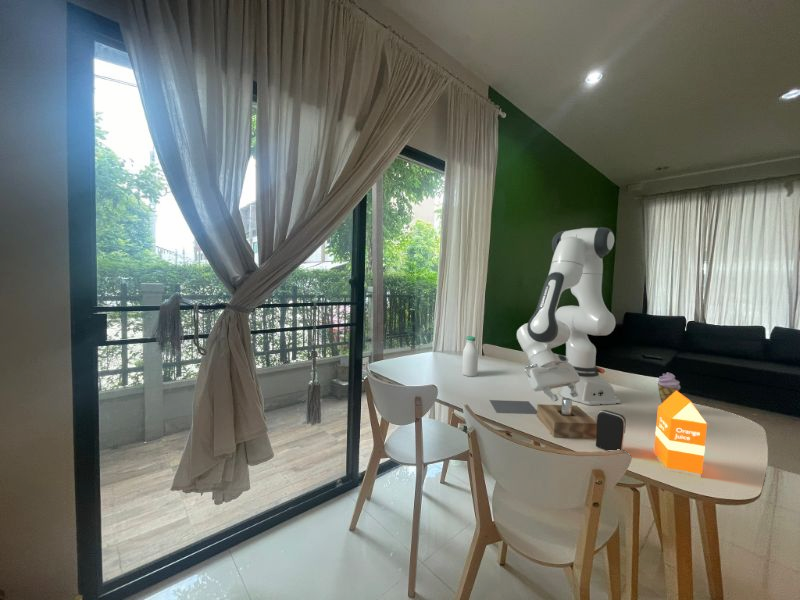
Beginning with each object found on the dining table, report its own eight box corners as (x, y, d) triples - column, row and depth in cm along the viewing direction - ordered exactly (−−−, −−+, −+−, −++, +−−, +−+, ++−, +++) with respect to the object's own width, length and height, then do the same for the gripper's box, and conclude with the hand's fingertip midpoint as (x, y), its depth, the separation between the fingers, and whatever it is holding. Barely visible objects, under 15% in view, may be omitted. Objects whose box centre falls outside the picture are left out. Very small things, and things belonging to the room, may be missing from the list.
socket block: (575, 418, 116) (576, 405, 115) (597, 438, 102) (598, 423, 101) (536, 417, 116) (537, 404, 116) (553, 437, 102) (554, 422, 102)
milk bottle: (478, 377, 161) (480, 338, 159) (463, 376, 161) (464, 338, 159) (475, 372, 168) (476, 335, 167) (460, 372, 169) (462, 335, 167)
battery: (624, 451, 94) (627, 414, 93) (621, 456, 92) (624, 418, 91) (598, 442, 100) (600, 407, 99) (594, 446, 97) (596, 410, 96)
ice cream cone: (674, 409, 125) (678, 372, 124) (680, 415, 120) (684, 376, 119) (653, 406, 128) (656, 369, 127) (658, 411, 123) (661, 374, 121)
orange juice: (665, 470, 86) (672, 398, 84) (653, 453, 94) (658, 387, 92) (702, 477, 83) (710, 403, 81) (686, 459, 91) (692, 391, 89)
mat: (528, 402, 130) (528, 401, 130) (540, 415, 118) (540, 414, 118) (489, 401, 131) (489, 400, 131) (496, 413, 119) (496, 412, 119)
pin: (567, 425, 110) (569, 397, 109) (571, 429, 107) (573, 401, 106) (558, 425, 110) (560, 397, 110) (562, 429, 107) (564, 401, 107)
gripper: (527, 361, 111) (548, 399, 103) (569, 356, 119) (592, 390, 111) (517, 370, 116) (537, 407, 107) (559, 364, 123) (580, 398, 115)
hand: (566, 398), depth 109 cm, fingers open, 8 cm apart
